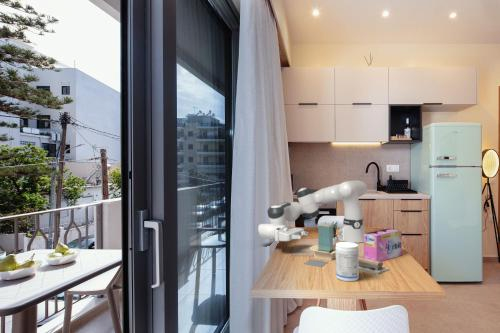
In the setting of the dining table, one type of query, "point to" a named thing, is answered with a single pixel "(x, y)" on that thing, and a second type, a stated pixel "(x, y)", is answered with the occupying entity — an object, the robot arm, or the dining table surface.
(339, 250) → the supplement tub
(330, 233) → the tea tin
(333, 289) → the dining table surface
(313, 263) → the coaster
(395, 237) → the gum box
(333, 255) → the beige square bowl
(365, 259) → the grey layered block
